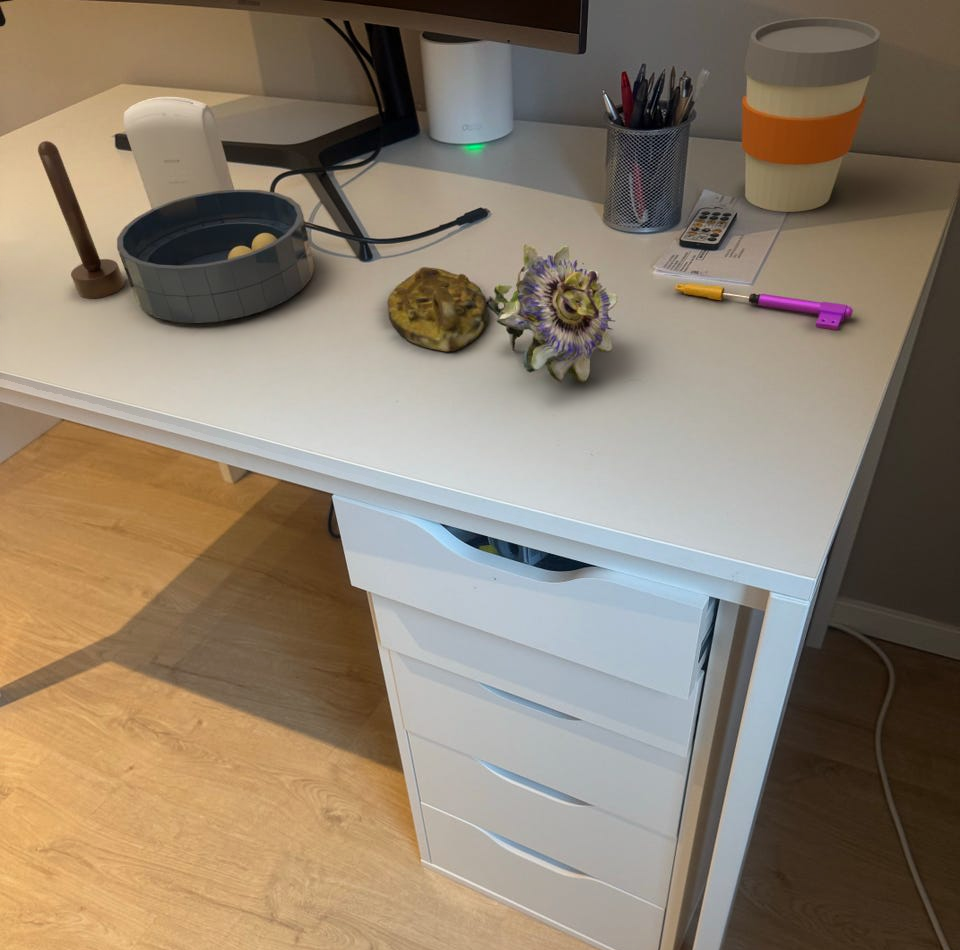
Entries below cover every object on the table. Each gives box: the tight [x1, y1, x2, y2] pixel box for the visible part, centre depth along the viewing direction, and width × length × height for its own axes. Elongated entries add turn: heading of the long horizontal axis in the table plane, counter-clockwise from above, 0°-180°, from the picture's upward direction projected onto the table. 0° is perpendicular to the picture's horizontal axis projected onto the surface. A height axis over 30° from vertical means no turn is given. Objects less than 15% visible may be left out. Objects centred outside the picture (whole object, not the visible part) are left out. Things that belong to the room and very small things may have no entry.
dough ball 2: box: [252, 233, 277, 251], centre depth 94 cm, size 3×3×3 cm
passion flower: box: [486, 244, 618, 384], centre depth 76 cm, size 11×11×12 cm
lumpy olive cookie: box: [387, 266, 489, 352], centre depth 84 cm, size 9×5×15 cm
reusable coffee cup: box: [741, 16, 881, 213], centre depth 93 cm, size 12×13×15 cm
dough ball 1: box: [228, 246, 254, 259], centre depth 92 cm, size 3×3×3 cm
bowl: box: [116, 188, 315, 324], centre depth 91 cm, size 18×18×6 cm
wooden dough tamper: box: [37, 140, 125, 299], centre depth 90 cm, size 5×5×14 cm
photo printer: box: [123, 96, 235, 209], centre depth 102 cm, size 10×4×12 cm, turn 81°
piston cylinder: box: [674, 282, 854, 331], centre depth 82 cm, size 3×1×16 cm
